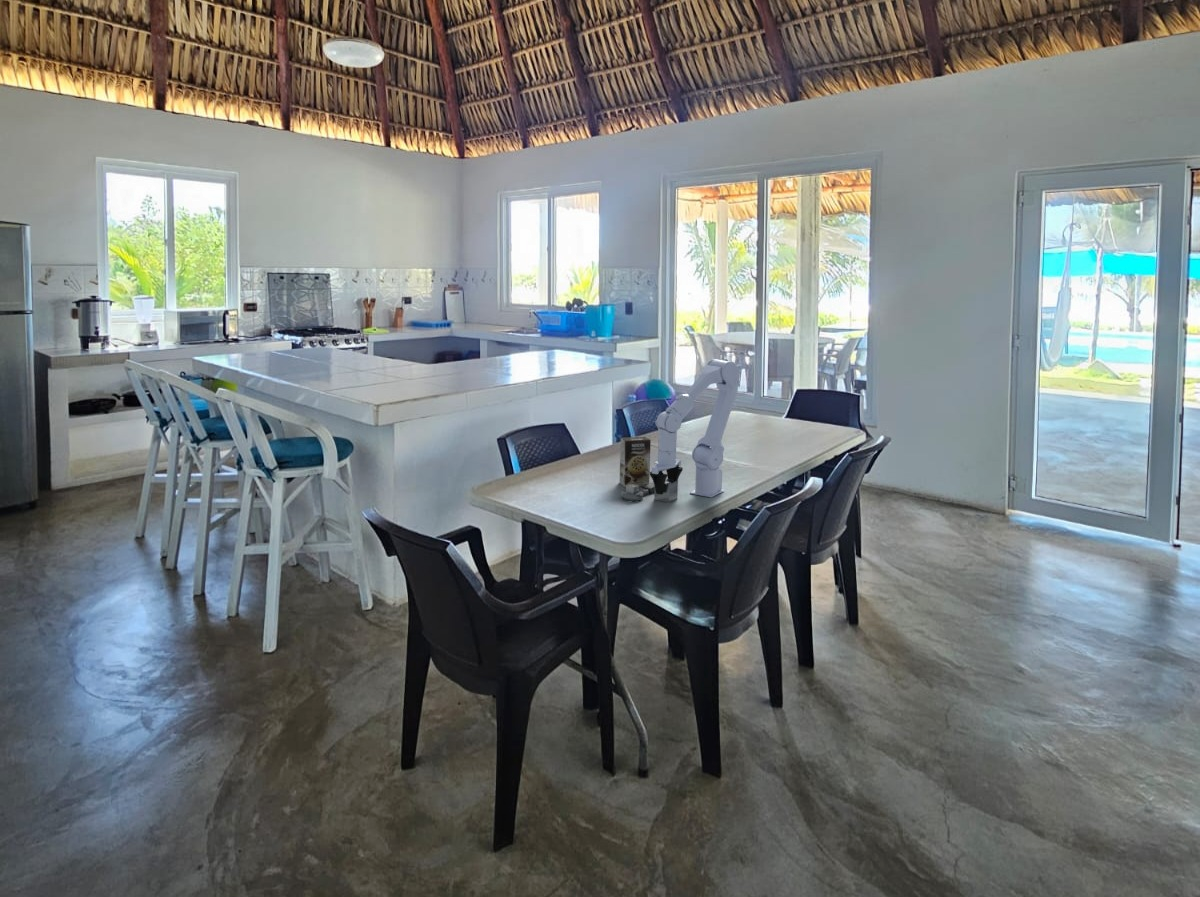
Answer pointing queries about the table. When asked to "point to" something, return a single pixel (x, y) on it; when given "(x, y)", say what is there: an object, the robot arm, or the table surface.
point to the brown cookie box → (635, 461)
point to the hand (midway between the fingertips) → (665, 491)
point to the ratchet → (637, 492)
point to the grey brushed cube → (668, 491)
